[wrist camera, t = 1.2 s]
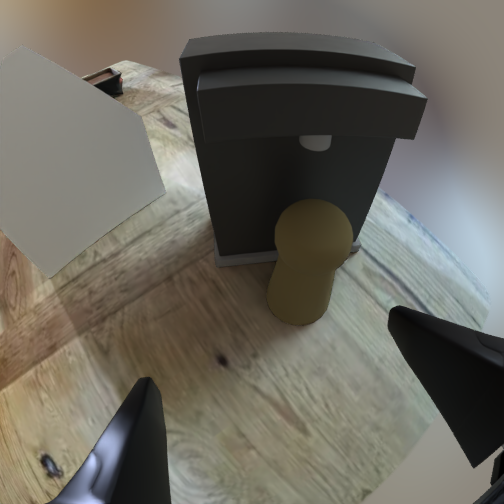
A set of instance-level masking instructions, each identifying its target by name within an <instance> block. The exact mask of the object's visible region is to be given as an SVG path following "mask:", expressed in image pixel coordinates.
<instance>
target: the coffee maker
mask: <svg viewBox="0 0 504 504" xmlns="http://www.w3.org/2000/svg"><path fill="white" fill-rule="evenodd" d="M179 62H180V67H181V74H182V80H183V85H184V91H185V96H186V102H187V107H188V112H189V118H190V123H191V128H192V133H193V138H194V143H195V148H196V153H197V158H198V162H199V167H200V172H201V177H202V181H203V186H204V190H205V195H206V200H207V204H208V208H209V213H210V217H211V222H212V226H213V230H214V254H215V264H216V267H225V266H235V265H244V264H253V263H262V262H271V261H277V259H278V256H279V253H278V250H277V247H276V244H275V226H276V224H277V222H278V220H279V218H280V216H281V213H282V212H283V211H284V210H285V209H287V208H288V207H289V206H290V205H291V204H293V203H295V202H298V201H300V200H304V199H320V200H324V201H327V202H330V203H332V204H333V205H335V206H337V207H338V208H339V209H340V210H341V211H342V212H344V213H345V215H346V217H347V218H348V220H349V222H350V224H351V226H352V232H353V243H352V248H351V251H350V252H356V251H359V248H360V246H361V243H360V241H359V238H358V235H359V233H360V230H361V228H362V226H363V223H364V221H365V219H366V216H367V214H368V212H369V209H370V207H371V204H372V202H373V199H374V197H375V194H376V192H377V189H378V187H379V184H380V181H381V179H382V176H383V174H384V171H385V168H386V165H387V163H388V159H389V157H390V154H391V151H392V148H393V145H394V142H395V139H396V138H400V139H411V140H414V138H415V135H416V133H417V130H418V127H419V124H420V121H421V118H422V115H423V112H424V109H425V106H426V103H427V100H428V99H427V98H426V97H425V96H424V95H423V94H422V93H420V92H419V91H418V90H417V89H415V88H414V87H413V86H412V81H413V78H414V73H415V69H416V67H415V66H413V65H412V64H410V63H409V62H407V61H405V60H404V59H402V58H401V57H399V56H397V55H396V54H394V53H392V52H391V51H389V50H387V49H385V48H384V47H382V46H380V45H378V44H376V43H374V42H370V41H365V40H359V39H353V38H347V37H339V36H330V35H321V34H309V33H288V32H285V33H283V32H263V33H262V32H260V33H240V34H227V35H216V36H208V37H201V38H194V39H189V41H188V43H187V45H186V46H185V48H184V50H183V52H182V54H181V56H180V58H179Z"/></svg>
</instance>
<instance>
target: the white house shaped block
mask: <svg viewBox="0 0 504 504" xmlns="http://www.w3.org/2000/svg"><path fill="white" fill-rule="evenodd" d="M165 193H166V190H165V187H164V184H163V182H162V179H161V176H160V173H159V170H158V167H157V164H156V161H155V158H154V155H153V152H152V149H151V146H150V142H149V139H148V136H147V133H146V130H145V126H144V123H143V120H142V117H141V116H140V115H138V114H137V113H135V112H134V111H132V110H131V109H129V108H128V107H126V106H125V105H123V104H121V103H120V102H118V101H117V100H115V99H114V98H112V97H111V96H109V95H107V94H106V93H104V92H103V91H101V90H99V89H98V88H96V87H95V86H93V85H91V84H90V83H88V82H86V81H85V80H83V79H81V78H80V77H78V76H76V75H75V74H73V73H71V72H70V71H68V70H66V69H65V68H63V67H61V66H59V65H58V64H56V63H54V62H52V61H51V60H49V59H47V58H45V57H43V56H42V55H40V54H38V53H36V52H34V51H32V50H31V49H29V48H27V47H25V46H23V45H21V46H20V47H18V48H17V49H15V50H14V51H12V52H11V53H9V54H8V55H6V56H5V57H3V59H2V63H1V67H0V229H1V230H2V232H3V233H4V234H5V235H6V236H7V237H8V238H9V239H10V240H11V241H12V243H13V244H14V245H15V246H16V247H17V248H18V249H19V250H20V251H21V252H22V253H23V254H24V255H25V256H26V257H27V258H28V259H29V260H30V261H31V262H32V263H33V264H34V265H35V266H36V267H37V268H38V269H39V270H41V271H42V272H43V273H44V274H45V275H46V276H47V277H48V278H49V279H50V278H51V277H53V276H54V275H55V274H56V273H57V272H58V271H60V270H61V269H62V268H63V267H64V266H66V265H67V264H68V263H69V262H71V261H72V260H73V259H74V258H75V257H77V256H78V255H79V254H81V253H82V252H83V251H84V250H86V249H87V248H88V247H89V246H91V245H92V244H93V243H95V242H96V241H97V240H99V239H100V238H101V237H103V236H104V235H105V234H107V233H108V232H109V231H111V230H112V229H114V228H115V227H116V226H118V225H119V224H121V223H122V222H123V221H125V220H126V219H128V218H129V217H130V216H132V215H133V214H135V213H136V212H138V211H139V210H141V209H142V208H144V207H145V206H147V205H148V204H150V203H151V202H153V201H154V200H156V199H157V198H159V197H160V196H162V195H164V194H165Z"/></svg>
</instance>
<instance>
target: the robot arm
mask: <svg viewBox="0 0 504 504" xmlns="http://www.w3.org/2000/svg"><path fill="white" fill-rule="evenodd" d="M388 330H389V332H390V334H391V335H392V337H393V339H394V341H395V342H396V344H397V346H398V348H399V350H400V352H401V353H402V355H403V357H404V359H405V360H406V362H407V363H408V365H409V366H410V368H411V369H412V370H413V372H414V373H415V375H416V376H417V378H418V379H419V381H420V382H421V384H422V385H423V387H424V388H425V390H426V391H427V393H428V394H429V396H430V397H431V399H432V400H433V402H434V403H435V405H436V407H437V408H438V410H439V411H440V413H441V414H442V416H443V418H444V419H445V421H446V422H447V424H448V426H449V427H450V429H451V431H452V432H453V434H454V436H455V437H456V439H457V441H458V443H459V444H460V446H461V448H462V450H463V451H464V453H465V455H466V456H467V458H468V460H469V462H470V463H471V466H472V467H473V468H475V467H477V466H478V465H479V464H481V463H482V462H483V461H484V460H485V459H487V458H488V457H489V456H490V455H491V454H493V453H494V452H495V451H496V450H497V449H498V448H499V447H500V446H502V447H503V449H504V338H500V337H495V336H492V335H488V334H485V333H482V332H479V331H476V330H475V331H474V330H473V329H470V328H467V327H464V326H461V325H458V324H455V323H452V322H449V321H446V320H443V319H440V318H437V317H434V316H431V315H428V314H425V313H422V312H419V311H416V310H413V309H410V308H407V307H404V306H400V305H399V306H396V307H394V308H391V310H390V312H389V318H388ZM490 483H491V485H492V486H491V487H490V489H488V491H486V492H485V493H484V494H483V495H482V496H481V497H480V498H479V499H478V500H476V501H475V502H474V503H473V504H504V450H503V451H502V452H501V453H500V454H499V455H498V456H497V457H496V458H495V460H494V467H493V472H492V477H491V482H490ZM45 504H171V496H170V485H169V473H168V458H167V437H166V427H165V420H164V413H163V406H162V398H161V393H160V391H159V389H158V387H157V386H156V384H155V383H154V381H153V380H152V378H151V377H143V378H139V379H138V381H137V382H136V384H135V385H134V387H133V388H132V390H131V391H130V393H129V394H128V396H127V397H126V399H125V400H124V402H123V403H122V405H121V406H120V408H119V409H118V411H117V412H116V414H115V415H114V417H113V418H112V420H111V421H110V423H109V424H108V426H107V427H106V429H105V430H104V432H103V434H102V435H101V437H100V438H99V440H98V441H97V443H96V444H95V446H94V449H92V450H91V452H90V454H89V455H88V457H87V458H86V460H85V461H84V463H83V464H82V466H81V467H80V468H79V470H78V471H77V472H76V473H75V475H74V476H73V477H72V479H71V480H70V481H69V482H68V484H67V485H66V486H65V487H64V488H63V490H62V491H61V492H60V493H59V495H58V496H57V497H56V498H54V499H53V500H52V501H50V502H48V503H45Z"/></svg>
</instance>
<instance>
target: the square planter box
mask: <svg viewBox="0 0 504 504" xmlns="http://www.w3.org/2000/svg"><path fill="white" fill-rule="evenodd" d="M120 76H121V72H119V71H117V70H115V69H113V68H112V67H110V68H107V69H104V70H101V71H99V72H96V73H94V74H91V75H89V76H87V77H84V78H82V79H83V80H85V81H86V82H88V83H90V84H91V85H93V86H95V87H96V88H98V89H99V90H101V91H103V92H104V93H106V94H107V95H109V96H111V95H116V94H123V91H122V81H123V79H122V78H121V77H120Z"/></svg>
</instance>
